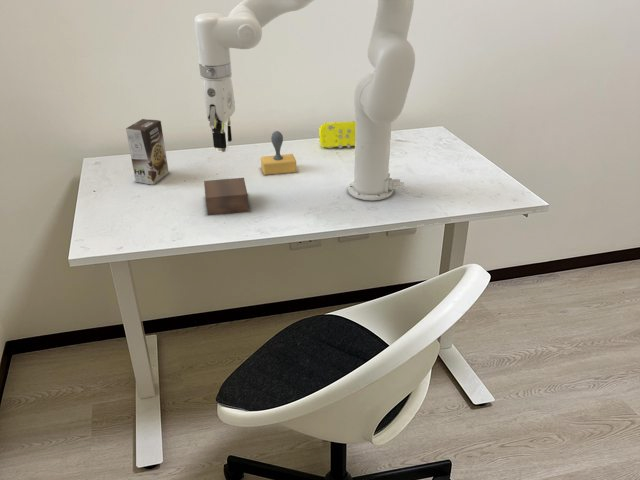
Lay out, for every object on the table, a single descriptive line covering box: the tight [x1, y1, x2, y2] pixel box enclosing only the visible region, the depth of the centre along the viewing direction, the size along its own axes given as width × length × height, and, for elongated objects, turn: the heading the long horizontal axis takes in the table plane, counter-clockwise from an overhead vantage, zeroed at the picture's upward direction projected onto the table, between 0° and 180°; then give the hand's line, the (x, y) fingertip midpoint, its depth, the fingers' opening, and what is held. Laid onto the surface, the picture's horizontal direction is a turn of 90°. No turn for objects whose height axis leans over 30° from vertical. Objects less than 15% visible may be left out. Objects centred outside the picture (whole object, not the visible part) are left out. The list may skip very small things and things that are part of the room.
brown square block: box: [203, 177, 250, 216], centre depth 169 cm, size 11×11×5 cm
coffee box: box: [125, 118, 170, 185], centre depth 180 cm, size 9×6×16 cm
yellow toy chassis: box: [318, 121, 356, 150], centre depth 202 cm, size 16×6×8 cm, turn 97°
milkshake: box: [214, 118, 229, 153], centre depth 158 cm, size 4×5×10 cm
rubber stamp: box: [260, 130, 298, 176], centre depth 185 cm, size 10×6×12 cm, turn 103°
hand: (223, 143), depth 160 cm, fingers closed on milkshake, 4 cm apart
